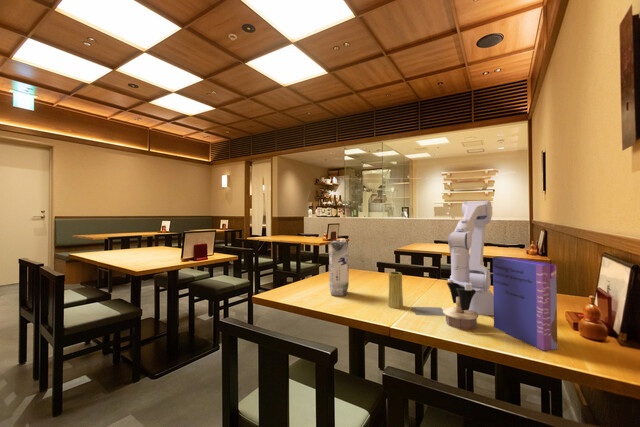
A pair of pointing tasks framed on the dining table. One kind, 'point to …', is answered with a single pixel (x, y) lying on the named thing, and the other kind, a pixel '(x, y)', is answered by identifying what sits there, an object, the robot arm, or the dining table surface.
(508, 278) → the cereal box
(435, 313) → the mat
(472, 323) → the bowl
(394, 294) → the vase
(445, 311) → the lid
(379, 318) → the dining table surface
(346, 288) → the juice carton
